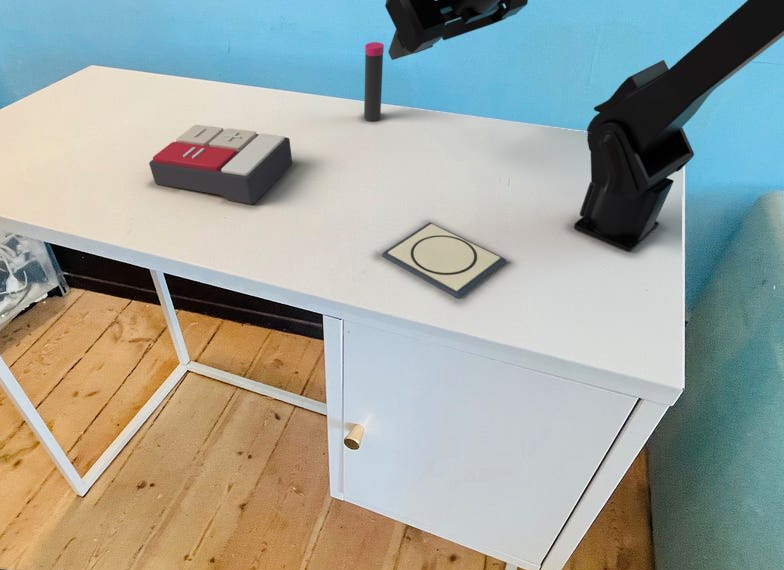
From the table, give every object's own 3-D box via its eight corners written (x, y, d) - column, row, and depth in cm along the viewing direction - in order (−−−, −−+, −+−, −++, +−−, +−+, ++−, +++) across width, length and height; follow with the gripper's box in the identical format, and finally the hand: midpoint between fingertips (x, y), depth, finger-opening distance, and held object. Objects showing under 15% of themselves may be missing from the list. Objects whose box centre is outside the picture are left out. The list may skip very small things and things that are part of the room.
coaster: (505, 262, 59) (507, 257, 58) (458, 298, 55) (459, 293, 55) (429, 225, 64) (430, 220, 64) (381, 256, 61) (382, 251, 60)
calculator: (193, 120, 78) (290, 131, 72) (200, 150, 81) (293, 163, 76) (145, 157, 71) (247, 172, 66) (155, 188, 74) (253, 205, 69)
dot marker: (384, 117, 84) (387, 44, 77) (372, 123, 83) (374, 49, 76) (371, 112, 85) (374, 40, 78) (360, 118, 84) (361, 45, 77)
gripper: (530, -137, 60) (439, -31, 74) (404, -109, 52) (330, 3, 67) (575, -37, 61) (477, 49, 75) (458, 4, 54) (374, 90, 68)
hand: (417, 46), depth 71 cm, fingers open, 9 cm apart
